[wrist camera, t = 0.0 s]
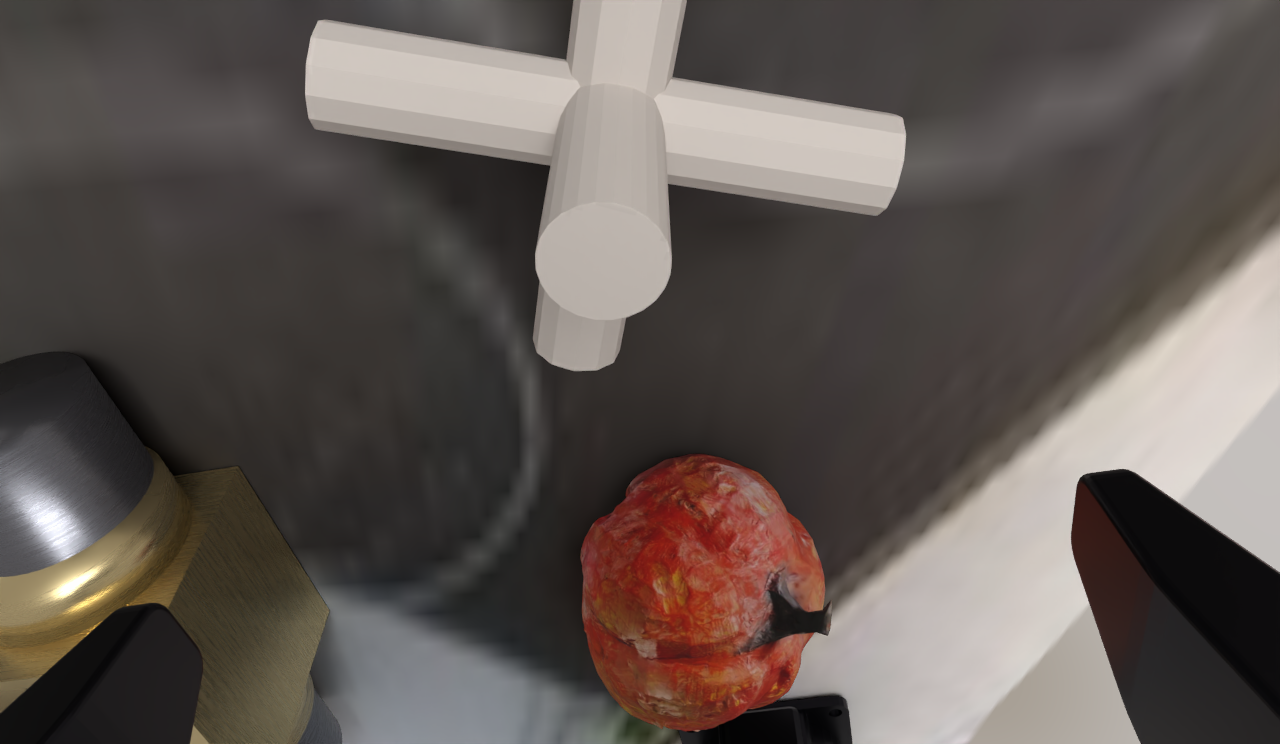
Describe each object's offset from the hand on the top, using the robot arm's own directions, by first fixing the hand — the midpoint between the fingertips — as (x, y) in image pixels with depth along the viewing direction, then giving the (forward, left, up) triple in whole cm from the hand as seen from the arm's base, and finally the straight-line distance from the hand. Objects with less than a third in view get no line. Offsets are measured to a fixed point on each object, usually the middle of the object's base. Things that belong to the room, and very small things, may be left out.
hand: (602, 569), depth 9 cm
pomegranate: (-14, +1, -15) cm, 21 cm away
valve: (-13, +17, -15) cm, 26 cm away
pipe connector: (+1, 0, -15) cm, 15 cm away
